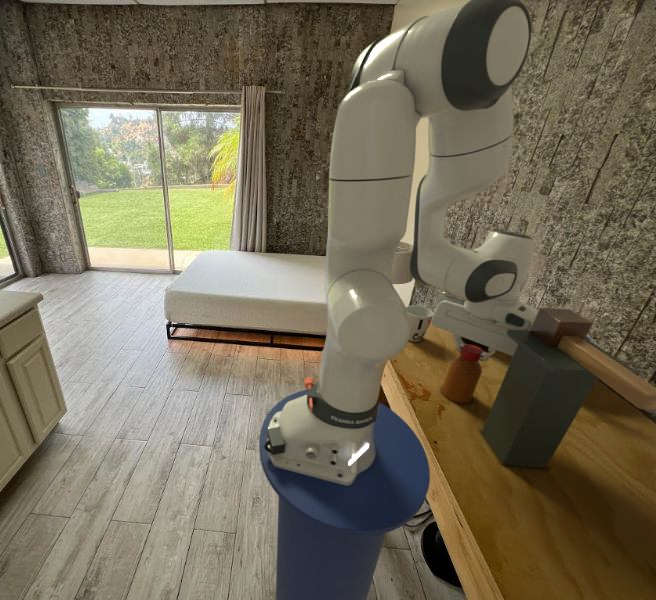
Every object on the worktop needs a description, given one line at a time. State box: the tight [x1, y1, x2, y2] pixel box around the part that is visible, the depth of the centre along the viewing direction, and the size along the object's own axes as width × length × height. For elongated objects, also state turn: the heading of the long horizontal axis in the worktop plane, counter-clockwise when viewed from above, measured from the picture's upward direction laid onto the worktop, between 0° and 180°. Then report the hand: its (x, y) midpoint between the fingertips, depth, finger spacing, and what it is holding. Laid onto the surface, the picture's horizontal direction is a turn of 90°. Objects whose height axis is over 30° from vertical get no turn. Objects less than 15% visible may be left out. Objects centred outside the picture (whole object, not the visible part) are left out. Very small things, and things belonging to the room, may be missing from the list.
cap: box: [460, 344, 484, 362], centre depth 75 cm, size 4×4×2 cm
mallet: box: [530, 307, 656, 411], centre depth 49 cm, size 5×20×5 cm, turn 174°
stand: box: [481, 330, 640, 469], centre depth 60 cm, size 12×12×26 cm
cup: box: [405, 305, 434, 343], centre depth 103 cm, size 8×8×10 cm
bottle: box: [441, 355, 483, 404], centre depth 78 cm, size 6×6×14 cm
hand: (470, 355), depth 76 cm, fingers closed on cap, 4 cm apart
